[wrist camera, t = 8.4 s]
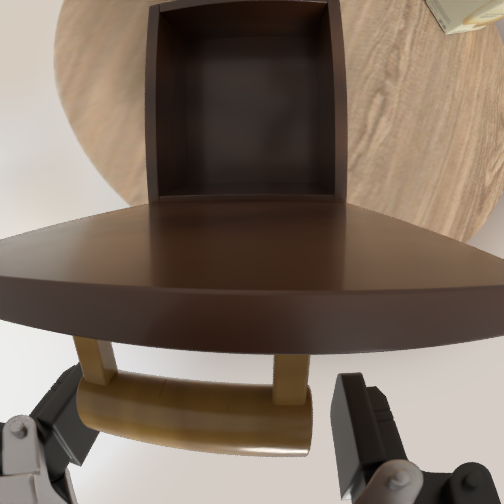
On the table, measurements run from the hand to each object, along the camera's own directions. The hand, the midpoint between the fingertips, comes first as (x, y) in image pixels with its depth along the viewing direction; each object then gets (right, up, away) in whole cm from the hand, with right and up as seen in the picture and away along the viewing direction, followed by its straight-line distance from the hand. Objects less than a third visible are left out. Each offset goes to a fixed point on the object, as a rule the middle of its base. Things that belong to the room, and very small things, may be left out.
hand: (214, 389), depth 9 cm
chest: (+1, +17, +14) cm, 22 cm away
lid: (0, +6, +1) cm, 6 cm away
